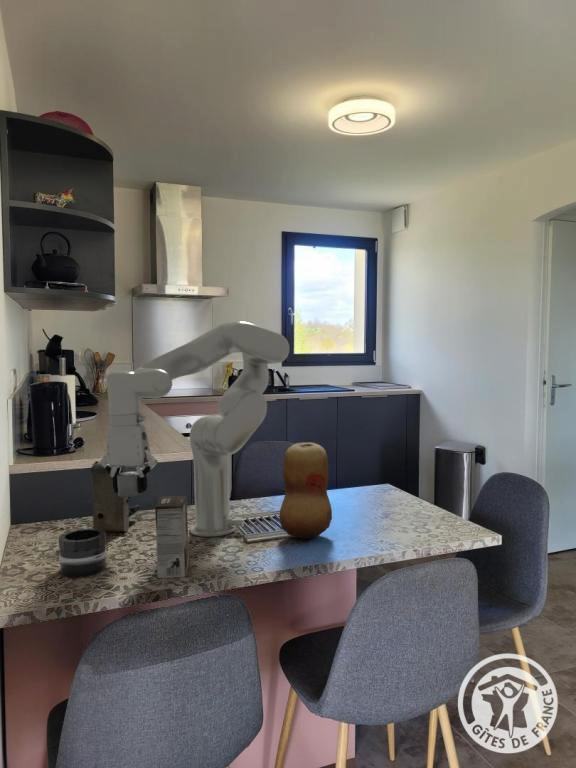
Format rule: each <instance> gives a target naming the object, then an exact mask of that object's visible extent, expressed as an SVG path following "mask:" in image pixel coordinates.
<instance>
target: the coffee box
mask: <svg viewBox="0 0 576 768" xmlns="http://www.w3.org/2000/svg"><path fill="white" fill-rule="evenodd" d="M187 498H188V496H187V495H165V496H159V497H158V500H157V502H156V504H155V534H156V535H155V536H156V538H155V539H156V568H157V569H156V570H157V571H156V572H157V579H168V578H169V579H170V578H185V577H187V572H188V569H189V564H190V556H189V555H190V553H189V527H188V503H187V502H188V501H187V500H188V499H187Z"/></svg>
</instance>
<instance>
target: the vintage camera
mask: <svg viewBox="0 0 576 768" xmlns="http://www.w3.org/2000/svg"><path fill="white" fill-rule="evenodd" d="M128 468H129V467H128V466H122V467H121V471H120V473H124V472H129V471H128ZM90 474H91V495H92V499H91V500H92V503H91V504H92V523H93V524H92V528H94V529H102V530H104V531H105V533H127V532H128V531H129V527H130V518H131V517H132V516H133V515H135V514H136V513H137V512H139V511H140V510H141V509H142V508H143V506H141V505H140V504H138V503H137V504H135V505H133V506H130V505H129V504H130V503H129V502H130V498H131V497H120V496H118V493H114V488H113V479H112V477H111V476H110V474H109V473H108V472H107V471H106V469H105V468H104V467H103V466H102V465H101V464H100V461H98V460H97V461H94V462H93V464H92V466H91V468H90ZM126 531H127V532H126Z"/></svg>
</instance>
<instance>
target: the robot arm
mask: <svg viewBox="0 0 576 768" xmlns="http://www.w3.org/2000/svg"><path fill="white" fill-rule="evenodd" d="M233 353H241V355H242V360H243V361H242V364H243V365H242V371H241V372H240V375H238V377H237V378H236V379H235V380H234V382H233V383H232V384H231V385H230V386H229V387H228V389H226V391H225V392H224V393H223V395H222V396H221V397H220V398H219V400H218V402H217V405H216V410H217V413H218V415H219V417H216V416H204V417H200V418H198V419H197V420H196V421H194V423H193V424H192V426H191V428H190V431H189V442H190V443H189V444H190V448H191V452H192V459H193V481H194V484H193V485H194V487H193V488H194V514H195V515H194V516H195V523H193V524H192V525H191V526H190V527H189V532H190V534H191V535H194V536H196V537H197V536H198V537H203V538H204V537H205V538H206V537H207V538H209V537H210V538H211V537H213V538H214V537H221V536H225V535H226V536H227V535H229V534H231V533H233V532H235V530H236V528H237V527H241V528H242V527H243V528H244V526H245V519H243V517H235V516H234V512H233V511H231V510H230V506H231V505H230V480H229V479H230V478H229V477H230V476H229V475H230V474H229V473H230V471H229V470H230V469H229V461H228V456H231V455H234V454H235V453H237V452H238V451H240V450H241V449H242V448H243V446H245V444H246V443H247V442H248V440H249V439H250V438H251V436H252V435H253V434H254V433H255V432H256V431H257V429H258V428H259V427H260V425H262V423H263V421H264V420H265V417H266V415H267V412H268V411H267V410H268V404H267V403H268V402H267V399H266V398H265V396H264V395H263V393H265V391H266V390H267V387H268V386H269V379H270V376H269V374H270V373H269V364H274V365H275V364H279V363H282V362H284V361H285V360H286V359H287V358H288V356H289V354H290V344H289V342H288V339H287V338H286V337H285V336H284V335H282V334H281V333H279V332H276V331H274V330H271V329H268V328H265V327H263V326H259V325H257V324H254V323H251V322H247V321H243V320H242V321H241V320H240V321H230V322H224V323H221V324H219V325H217V326H216V327H214V328H211V329H210V330H208V331H206V332H205V333H203V334H202V335H201V334H200V336H198V337H196V338H194V339H193V340H191V341H189V342H186V343H184V344H182V345H181V346H179V347H176V348H175V349H174V348H173V350H170V351H168V352H165V353H163V354H161V355H159V356H157V357H154V358H153V359H151V360H149V361H147V362H146V363H144V364H142V365H141V366H139V367H137V368H136V369H134V370H133V371H131V370H122V371H121V370H119V371H113V372H110V373H108V374H107V377H106V387H107V397H108V398H107V400H108V411H109V412H108V413H109V414H108V415H109V425H110V426H108V428H107V435H106V448H105V449H106V450H105V451H106V454H105V455H104V456H103V457H102V458H101V460H100V461H99V462H100V464H101V465H102V466H103V467H104V468H105V469H106V471H107V472H108V473H109V474H110V476H111V477H112V479H113V488H114V493H118V486H117V475H118V474H120V471H121V467H122V466H127V467H134V468H135V469H136V471H137V472H138V474H139V477H138V478H137V483H138V493H142V494H143V493H145V492H146V491H147V489H148V479H147V478H148V475H149V474H150V472H151V471H152V470H153V468H154V467H155V466H156V465H157V464H158V460H157V459H156V457H154V456H153V455H152V454H151V447H150V442H149V436H148V432H147V428H146V425H145V424H143V422H145V421H146V419H147V418H146V416H145V415H142V412H141V401H140V400H141V398H143V399H160V398H163V397H165V396H166V395H168V394H169V393H170V392H171V389H172V388H173V387H172V386H173V380H176V379H178V378H181V377H185V376H186V377H187V376H191V375H194V374H195V375H196V374H197V373H201V372H203V371H205V370H207V369H208V368H210V367H212V366H213V365H215V364H217V363H219V362H220V361H222V360H223V359H225V358H226V357H228V356H229V355H232V354H233ZM147 463H148V464H147Z"/></svg>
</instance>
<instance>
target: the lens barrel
mask: <svg viewBox="0 0 576 768" xmlns="http://www.w3.org/2000/svg"><path fill="white" fill-rule="evenodd" d="M106 537H107V535H106V532H105V531H104V530H102V529H94V528H93V527H92V528H91V527H90V528H88V527H87V528H81V529H80V528H79V529H73V530H69V531H66V532H64V533H62V534H60V535H59V537H58V548H59V554H58V558H59V563H60V564H59V565H60V567H59V568H60V574H61V576H64V577H67V578H83V577H84V578H85V577H90V576H94V575H97V574H100V573H102V572H104V570H106V569H107V556H108V554H107V553H108V550H107V543H106V541H107V539H106Z"/></svg>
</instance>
